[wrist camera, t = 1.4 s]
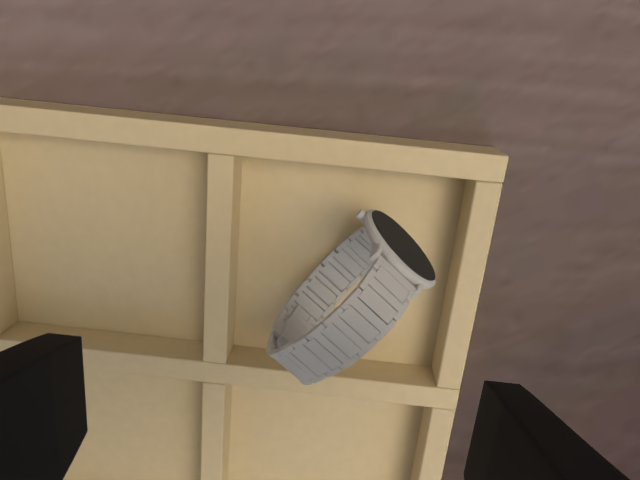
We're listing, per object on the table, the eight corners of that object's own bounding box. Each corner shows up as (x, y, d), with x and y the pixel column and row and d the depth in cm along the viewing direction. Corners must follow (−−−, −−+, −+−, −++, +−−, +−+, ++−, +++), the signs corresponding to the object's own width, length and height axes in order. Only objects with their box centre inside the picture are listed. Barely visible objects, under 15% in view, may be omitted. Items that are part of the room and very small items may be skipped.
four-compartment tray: (415, 545, 22) (420, 581, 20) (23, 498, 22) (-1, 530, 21) (495, 147, 17) (509, 155, 15) (-23, 94, 17) (-60, 98, 15)
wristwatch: (427, 243, 17) (456, 312, 13) (321, 338, 19) (311, 432, 14) (365, 182, 17) (371, 230, 12) (260, 284, 18) (229, 364, 13)
